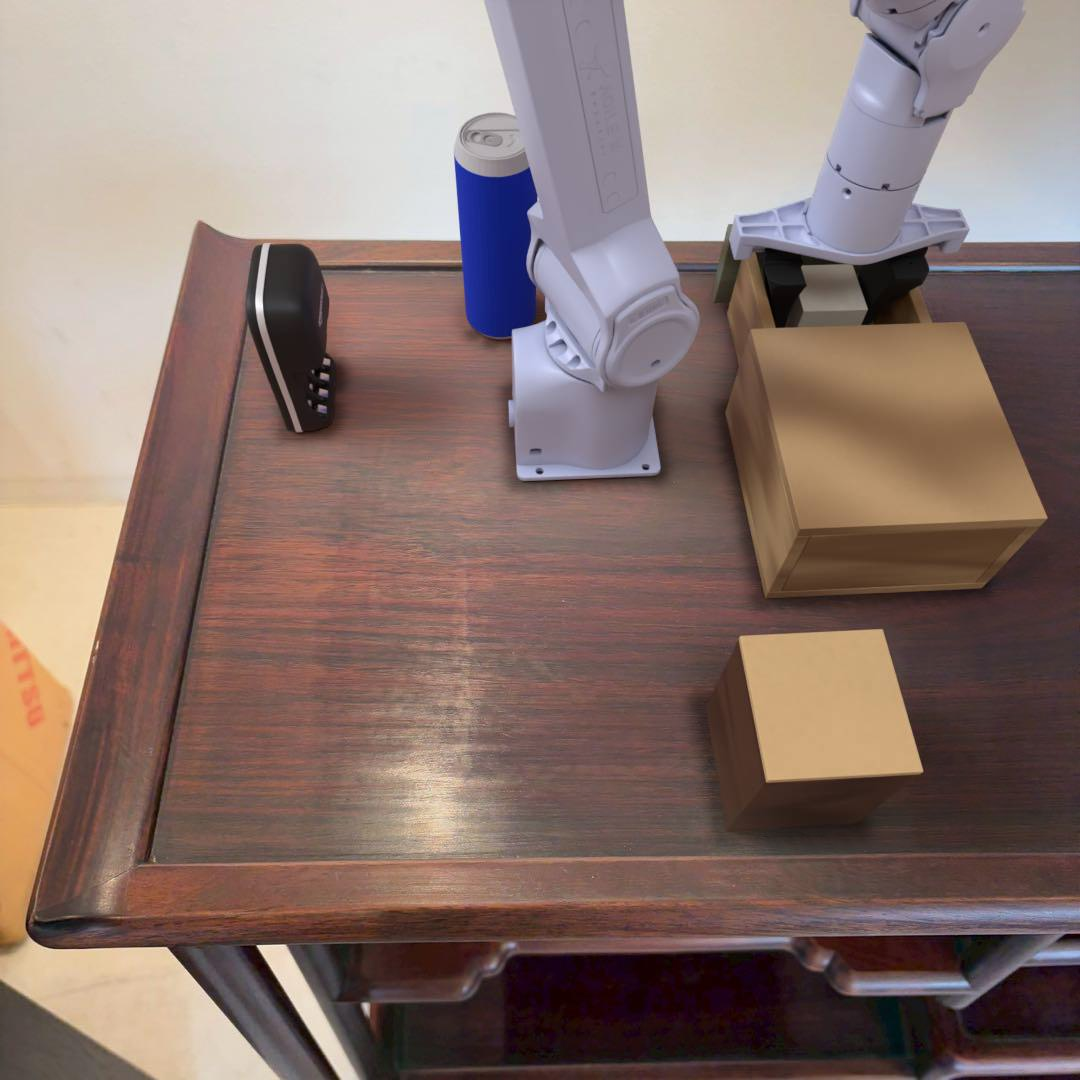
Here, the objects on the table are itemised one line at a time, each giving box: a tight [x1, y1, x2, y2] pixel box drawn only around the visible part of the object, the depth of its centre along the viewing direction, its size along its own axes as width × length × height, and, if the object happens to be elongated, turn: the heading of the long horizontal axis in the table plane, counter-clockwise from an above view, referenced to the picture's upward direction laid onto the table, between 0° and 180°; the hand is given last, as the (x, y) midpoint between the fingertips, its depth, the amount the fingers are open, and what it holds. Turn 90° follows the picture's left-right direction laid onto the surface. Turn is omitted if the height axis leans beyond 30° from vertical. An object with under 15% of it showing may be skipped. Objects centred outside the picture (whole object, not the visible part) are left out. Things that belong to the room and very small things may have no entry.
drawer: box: [711, 223, 933, 367], centre depth 61 cm, size 15×12×6 cm
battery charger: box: [245, 242, 337, 433], centre depth 57 cm, size 7×4×11 cm, turn 4°
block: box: [785, 264, 868, 328], centre depth 62 cm, size 4×4×4 cm
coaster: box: [738, 628, 924, 783], centre depth 41 cm, size 7×7×1 cm
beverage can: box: [453, 111, 539, 340], centre depth 60 cm, size 5×5×15 cm
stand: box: [705, 639, 921, 832], centre depth 45 cm, size 7×7×9 cm
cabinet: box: [724, 321, 1049, 599], centre depth 55 cm, size 15×14×8 cm
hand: (811, 328), depth 63 cm, fingers closed on drawer, 5 cm apart
